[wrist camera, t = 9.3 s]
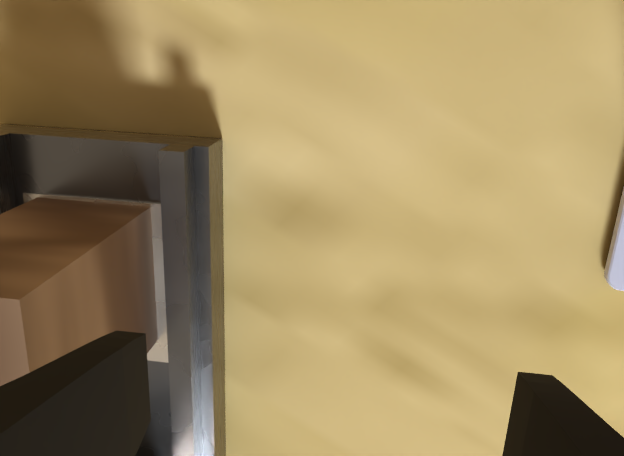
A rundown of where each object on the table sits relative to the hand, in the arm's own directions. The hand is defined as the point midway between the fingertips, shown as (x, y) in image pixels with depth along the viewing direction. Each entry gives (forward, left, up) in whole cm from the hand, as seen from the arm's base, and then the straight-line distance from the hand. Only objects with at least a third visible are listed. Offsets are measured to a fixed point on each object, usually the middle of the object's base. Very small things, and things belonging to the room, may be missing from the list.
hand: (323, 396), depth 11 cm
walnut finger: (+9, +1, -8) cm, 12 cm away
